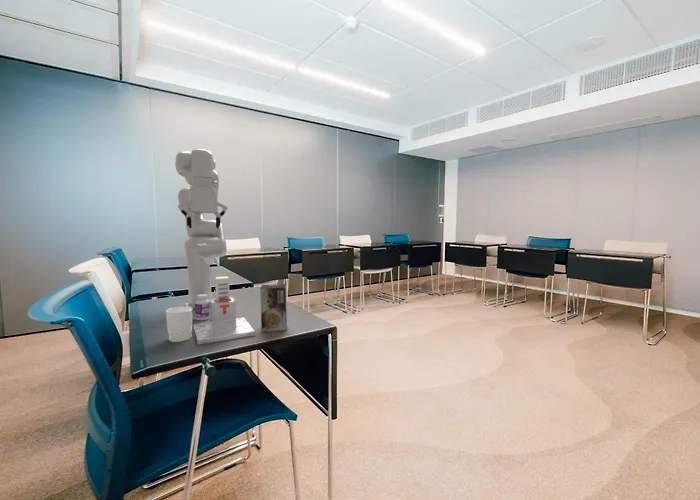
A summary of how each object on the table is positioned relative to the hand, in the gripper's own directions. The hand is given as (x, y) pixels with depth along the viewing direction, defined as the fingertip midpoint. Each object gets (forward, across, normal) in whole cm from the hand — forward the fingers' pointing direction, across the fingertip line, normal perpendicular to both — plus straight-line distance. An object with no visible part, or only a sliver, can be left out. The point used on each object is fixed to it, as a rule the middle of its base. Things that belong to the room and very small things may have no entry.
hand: (204, 228), depth 124 cm
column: (+35, -4, +16) cm, 39 cm away
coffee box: (+37, -21, +21) cm, 48 cm away
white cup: (+37, +10, +17) cm, 42 cm away
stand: (+37, -4, +16) cm, 41 cm away
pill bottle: (+37, +1, -4) cm, 37 cm away
